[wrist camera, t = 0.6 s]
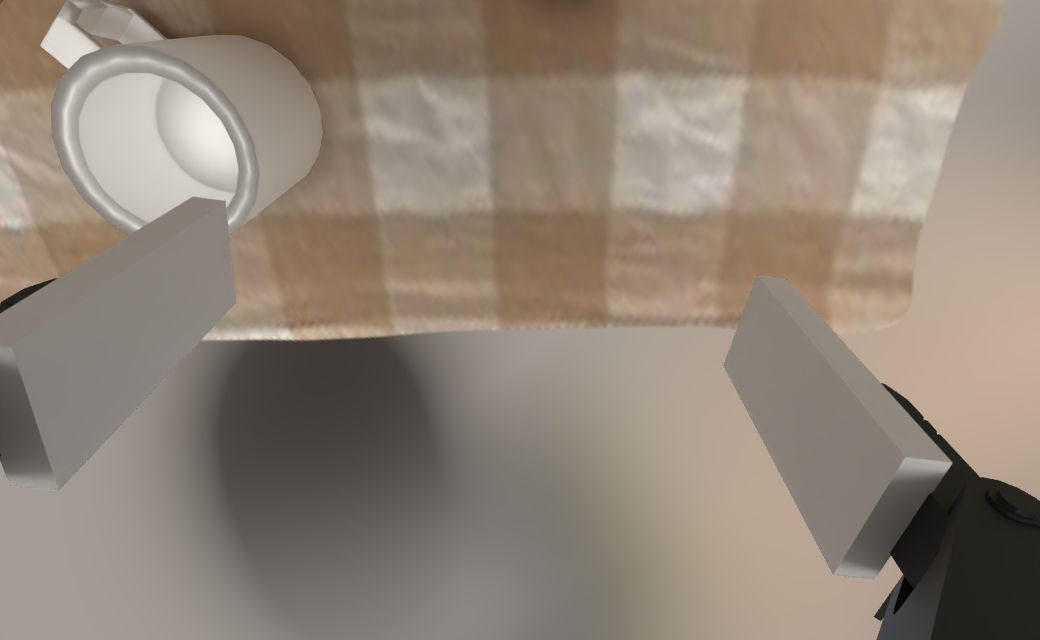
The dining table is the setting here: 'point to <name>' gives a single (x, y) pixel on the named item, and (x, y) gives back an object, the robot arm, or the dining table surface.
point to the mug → (175, 117)
